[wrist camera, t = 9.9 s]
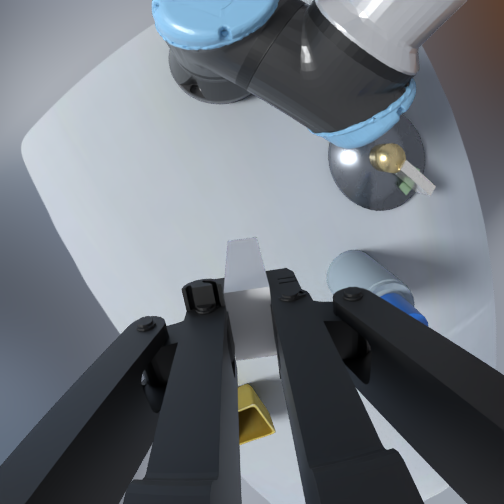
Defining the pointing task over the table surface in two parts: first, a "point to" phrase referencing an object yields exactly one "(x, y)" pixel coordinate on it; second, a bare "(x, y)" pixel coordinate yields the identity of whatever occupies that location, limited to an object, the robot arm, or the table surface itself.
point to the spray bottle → (371, 280)
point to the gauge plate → (371, 180)
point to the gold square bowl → (252, 416)
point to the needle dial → (399, 167)
